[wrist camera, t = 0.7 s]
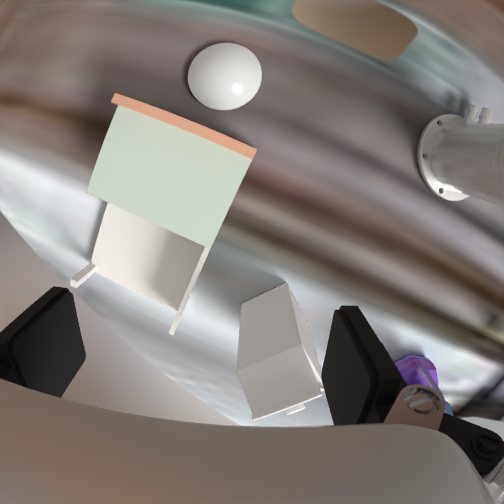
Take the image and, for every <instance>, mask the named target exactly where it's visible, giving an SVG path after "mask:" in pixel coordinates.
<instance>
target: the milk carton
mask: <svg viewBox="0 0 504 504" xmlns="http://www.w3.org/2000/svg"><path fill="white" fill-rule="evenodd" d="M236 372H237V375H238V378H239V380H240V383H241V385H242V388H243V391H244V393H245V396H246V398H247V401H248V403H249V406H250V408H251V411H252V420H253V421H255V420H258V419H261V418H264V417H267V416H270V415H273V414H276V413H278V412H281V411H284V412H285V415H289V414H292V413H295V412H298V411H300V410H303V409H304V408H305V406H304V404H303V403H305V402H308V401H310V400H313V399H315V398H318V397H320V396H322V393H321V391H324V387H323V384H322V379H321V373H322V371H321V367H320V364H319V360H318V357H317V353H316V350H315V346H314V343H313V339H312V336H311V332H310V329H309V326H308V322H307V320H306V318H305V316H304V314H303V312H302V310H301V309H300V307H299V305H298V303H297V301H296V299H295V297H294V295H293V293H292V291H291V290H290V288H289V286H288V284H287V283H285V284H282V285H280V286H278V287H276V288H274V289H272V290H270V291H268V292H265V293H263V294H261V295H259V296H257V297H255V298H253V299H251V300H248V301H246V302H244V303H242V304H241V315H240V329H239V343H238V358H237V371H236Z"/></svg>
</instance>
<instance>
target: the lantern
mask: <svg viewBox="0 0 504 504" xmlns="http://www.w3.org/2000/svg"><path fill="white" fill-rule="evenodd" d="M395 365H396V367H397V368H398V370H399V372H400V373H401V375H402V377H403V379H404V380H405V382H406V384H407V385H408V386H409V385H414V384H421V385H425V386H429V387H431V388H433V389H435V390H436V391H438V392H439V393H440V394H441V395H442V393H441V391H440V389H439V387H438V379H437V372H436V368H435V366H434V364H433V363H432V362H431V361H430V360H429V359H428V358H425V357H420V356H414V355H409V356H407V357H405V358H403V359H401V360H399V361H397V362H395ZM442 397H443V395H442ZM443 398H444V397H443ZM444 401H445V399H444ZM444 412H445V413H447V414H450V415H452V416H453V413H452V409H451V406H450V404H449V403H448V402H446V401H445V410H444Z"/></svg>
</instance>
